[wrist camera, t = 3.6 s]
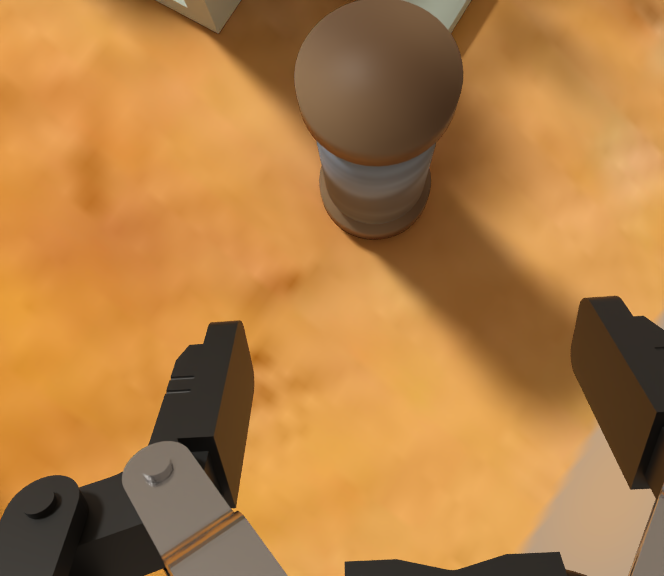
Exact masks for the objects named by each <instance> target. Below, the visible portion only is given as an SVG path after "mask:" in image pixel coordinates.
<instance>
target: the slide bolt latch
mask: <svg viewBox="0 0 664 576" xmlns="http://www.w3.org/2000/svg"><path fill="white" fill-rule="evenodd" d="M156 1H158V2H160V3H162V4H164V5H165V6H167V7H169V8H171V9H173V10H175V11H177V12H179V13H180V14H182V15H184V16H186V17H188V18H190V19H192V20H194V21H195V22H197V23H199V24H201V25H203V26H205V27H207V28H208V29H210V30H212V31H214V32H216V33H218V34H219V32H220V31H221V29H222V28H223V26H224V25H225V23H226V22H227V20H228V19H229V18H230V16H231V15H232V13H233V12H234V10H235V9H236V7H237V6H238V4H239V3H240V1H241V0H156ZM402 1H406V2H409V3H412V4H414V5H417V6H419V7H421V8H423V9H425V10H426V11H428V12H430V13H431V14H432V15H434V16H435V17H436V18H438V19H439V20H440V21H441V22H442V23H443V24H444V25H445V27H446V28H447V29H448V31H449V32H450V33H452V31H453V29H454V28H455V26H456V24H457V23H458V21H459V20H460V18H461V16H462V15H463V13H464V12H465V10H466V8H467V7H468V5H469V3H470V2H471V0H402Z"/></svg>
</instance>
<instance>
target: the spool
mask: <svg viewBox="0 0 664 576" xmlns="http://www.w3.org/2000/svg"><path fill="white" fill-rule="evenodd" d="M294 81H295V90H296V95H297V99H298V103H299V107H300V111H301V114H302V117H303V120H304V122H305V124H306V126H307V128H308V130H309V131H310V133H311V134H312V136H313V137H314V138H315V139H316V141H317V146H318V150H319V155H320V160H321V165H322V167H321V171H320V178H319V183H320V192H321V196H322V200H323V203H324V206H325V209H326V211H327V213H328V214H329V216H330V217H331V219H332V220H333V221H334V222H335V223H336V224H337V225H338V226H339V227H340V228H341V229H343V230H344V231H346V232H347V233H349V234H351V235H354V236H357V237H360V238H364V239H384V238H389V237H392V236H395V235H397V234H399V233H402V232H403V231H405V230H406V229H408V228H409V227H410V226H411V225H412V224H413V223H414V222H415V221H416V220H417V219H418V218H419V216H420V215H421V213H422V211H423V209H424V207H425V205H426V202H427V199H428V196H429V192H430V186H431V175H430V169H429V167H430V163H431V160H432V156H433V152H434V149H435V145H436V142H437V141H438V140H439V138H440V137H441V136H442V135H443V134H444V132H445V131H446V129H447V128H448V126H449V124H450V122H451V120H452V118H453V115H454V112H455V110H456V106H457V103H458V100H459V97H460V94H461V89H462V84H463V65H462V59H461V55H460V51H459V49H458V46H457V44H456V42H455V40H454V38H453V36H452V35H451V33H450V32H449V31H448V29H447V28H446V27H445V25H444V24H443V23H442V22H441V21H440V20H439V19H438V18H436V17H435V16H434V15H432V14H431V13H430V12H428V11H426V10H425V9H423V8H421V7H419V6H417V5H414V4H412V3H409V2H406V1H402V0H359V1H355V2H352V3H349V4H346V5H344V6H342V7H340V8H338V9H336V10H334V11H333V12H331V13H329V14H328V15H327V16H325V17H324V18H323V19H322V20H320V21H319V22H318V23H317V24H316V26H315V27H314V28H313V29H312V30H311V31H310V33H309V34H308V35H307V37H306V39H305V40H304V42H303V44H302V46H301V48H300V51H299V53H298V56H297V60H296V64H295V73H294Z"/></svg>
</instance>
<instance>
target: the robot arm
mask: <svg viewBox="0 0 664 576" xmlns="http://www.w3.org/2000/svg"><path fill="white" fill-rule="evenodd" d="M571 363H572V368H573V371H574V374H575V376H576V378H577V380H578V382H579V384H580V386H581V388H582V390H583V392H584V395H585V397H586V399H587V401H588V403H589V405H590V407H591V409H592V411H593V413H594V415H595V417H596V419H597V421H598V423H599V426H600V428H601V430H602V432H603V434H604V436H605V438H606V440H607V442H608V444H609V446H610V448H611V450H612V452H613V454H614V457H615V458H616V461H617V463H618V465H619V467H620V469H621V471H622V473H623V475H624V477H625V479H626V481H627V483H628V485H629V487H630V489H649V488H650V489H651V490H652V492H653V494H654V496H655V498H656V500H655V503H654V505H653V508H652V511H651V513H650V516H649V519H648V522H647V525H646V527H645V530H644V533H643V536H642V539H641V541H640V544H639V547H638V550H637V553H636V555H635V558H634V561H633V564H632V566H631V569H630V572H629V575H628V576H664V330H663V329H662V328H660V327H659V326H657V325H656V324H654V323H653V322H652V321H650V320H649V319H647V318H646V317H644V316H634V317H633V315H632V314H631V312H630V311H629V310H628V308H627V307H626V305H625V304H624V302H623V301H622V299H621V298H620V297H618V296H607V297H592V298H583V299H582V300H581V302H580V305H579V310H578V315H577V320H576V325H575V330H574V335H573V340H572V345H571ZM166 391H167V393H166V394H165V396H164V399H163V402H162V405H161V408H160V412H159V415H158V418H157V421H156V424H155V427H154V430H153V433H152V436H151V439H150V442H149V445H148V446H147V447H145V448H143V449H141V450H140V451H138V452H137V453H136V454H135V455H134V456H133V457H132V458H131V459H130V460H129V462H128V463H127V464H126V466H125V468H124V471H123V472H121V473H119V474H117V475H115V476H112V477H110V478H107V479H104V480H101V481H98V482H95V483H92V484H89V485H85V486H82V487H78V485H77V483H76V482H75V481H74V480H73V479H71V478H69V477H66V476H61V475H53V476H48V477H44V478H41V479H39V480H36V481H34V482H32V483H31V484H29V485H27V486H26V487H25V488H23V489H22V490H21V491H20V492H18V493H17V494H16V495H15V496H14V498H13V499H12V500H11V501H10V503H9V504H8V506H7V508H6V509H5V512H4V514H3V516H2V518H1V520H0V576H144V575H147V574H150V573H152V572H155V571H158V570H160V569H163V570H164V572H165V574H166V576H287V574H286V573H285V572H284V570H283V569H282V568H281V566H280V565H279V563H278V562H277V561H276V559H275V558H274V556H273V555H272V554H271V552H270V551H269V550H268V548H267V547H266V545H265V544H264V543H263V541H262V540H261V539H260V537H259V536H258V534H257V533H256V532H255V530H254V529H253V528H252V526H251V525H250V523H249V522H248V521H247V519H246V518H245V517H244V516H243V515H242V514H241V513H240V512H239V511H236V512H235V513H234V512H233V511H232V509H231V508H236V504H237V497H238V491H239V484H240V478H241V471H242V465H243V459H244V452H245V446H246V439H247V433H248V426H249V420H250V414H251V407H252V401H253V394H254V371H253V365H252V361H251V357H250V352H249V348H248V343H247V339H246V335H245V330H244V326H243V323H242V322H241V321H226V322H212V323H210V324H209V326H208V329H207V333H206V336H205V340H204V343H203V344H197V345H189V346H188V347H187V348H186V350H185V351H184V352H183V353H182V354H181V355H180V356H179V358H178V359H177V360H176V362H175V366H174V369H173V372H172V375H171V380H170V381H169V384H168V387H167V390H166ZM345 576H587V575H584V574H580V573H577V572H574V571H570V570H566V569H565V567H564V564H563V561H562V558H561V555H560V552H548V553H525V554H506V555H502V556H499V557H496V558H493V559H490V560H487V561H484V562H480V563H477V564H474V565H471V566H468V567H465V568H462V569H458V570H446V569H441V568H436V567H431V566H427V565H422V564H417V563H412V562H407V561H402V560H398V559H393V560H371V561H349V562H345Z"/></svg>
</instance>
